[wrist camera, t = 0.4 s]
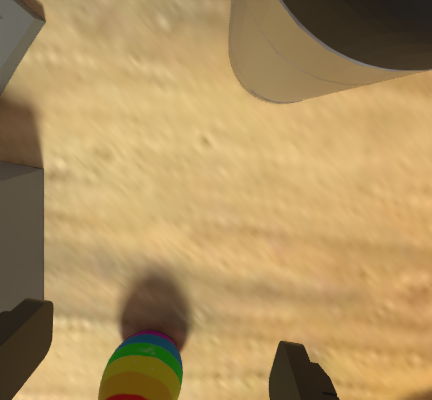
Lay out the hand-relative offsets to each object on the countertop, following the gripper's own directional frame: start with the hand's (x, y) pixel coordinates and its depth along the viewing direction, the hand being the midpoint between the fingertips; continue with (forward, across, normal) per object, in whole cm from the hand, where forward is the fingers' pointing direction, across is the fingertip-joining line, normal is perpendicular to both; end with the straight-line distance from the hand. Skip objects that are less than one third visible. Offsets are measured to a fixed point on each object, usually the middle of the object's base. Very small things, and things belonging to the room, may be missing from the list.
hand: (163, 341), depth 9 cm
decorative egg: (+19, +3, +19) cm, 27 cm away
